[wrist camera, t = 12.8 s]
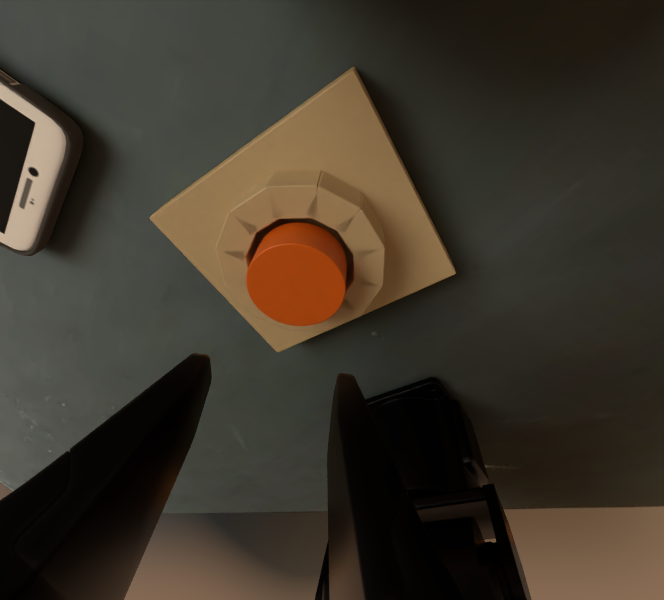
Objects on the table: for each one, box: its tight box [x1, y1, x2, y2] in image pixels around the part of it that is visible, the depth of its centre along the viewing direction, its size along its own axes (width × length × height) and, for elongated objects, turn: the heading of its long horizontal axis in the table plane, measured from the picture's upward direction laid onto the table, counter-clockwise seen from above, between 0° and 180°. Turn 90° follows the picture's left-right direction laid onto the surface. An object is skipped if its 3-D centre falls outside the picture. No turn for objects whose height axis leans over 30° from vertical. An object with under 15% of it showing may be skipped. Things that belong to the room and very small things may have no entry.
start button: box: [246, 222, 347, 326], centre depth 14 cm, size 4×4×2 cm
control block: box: [150, 67, 456, 352], centre depth 15 cm, size 10×9×4 cm
